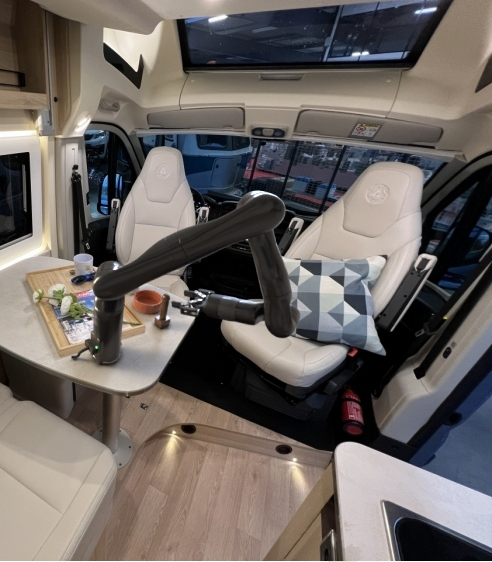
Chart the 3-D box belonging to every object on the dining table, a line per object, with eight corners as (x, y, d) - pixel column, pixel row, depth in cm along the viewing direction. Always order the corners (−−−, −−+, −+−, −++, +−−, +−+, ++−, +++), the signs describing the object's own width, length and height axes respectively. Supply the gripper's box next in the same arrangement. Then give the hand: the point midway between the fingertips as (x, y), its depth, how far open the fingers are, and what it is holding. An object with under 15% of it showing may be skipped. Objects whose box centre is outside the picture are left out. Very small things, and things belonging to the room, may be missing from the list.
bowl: (144, 317, 116) (145, 308, 114) (127, 302, 125) (128, 293, 123) (167, 309, 122) (168, 300, 120) (149, 295, 131) (150, 287, 129)
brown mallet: (160, 329, 110) (165, 298, 103) (153, 324, 113) (158, 293, 106) (169, 325, 113) (175, 294, 106) (163, 320, 115) (168, 290, 108)
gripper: (232, 287, 93) (187, 280, 104) (214, 308, 84) (166, 297, 94) (232, 307, 96) (188, 298, 107) (215, 329, 87) (168, 317, 97)
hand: (178, 298), depth 101 cm, fingers open, 8 cm apart
